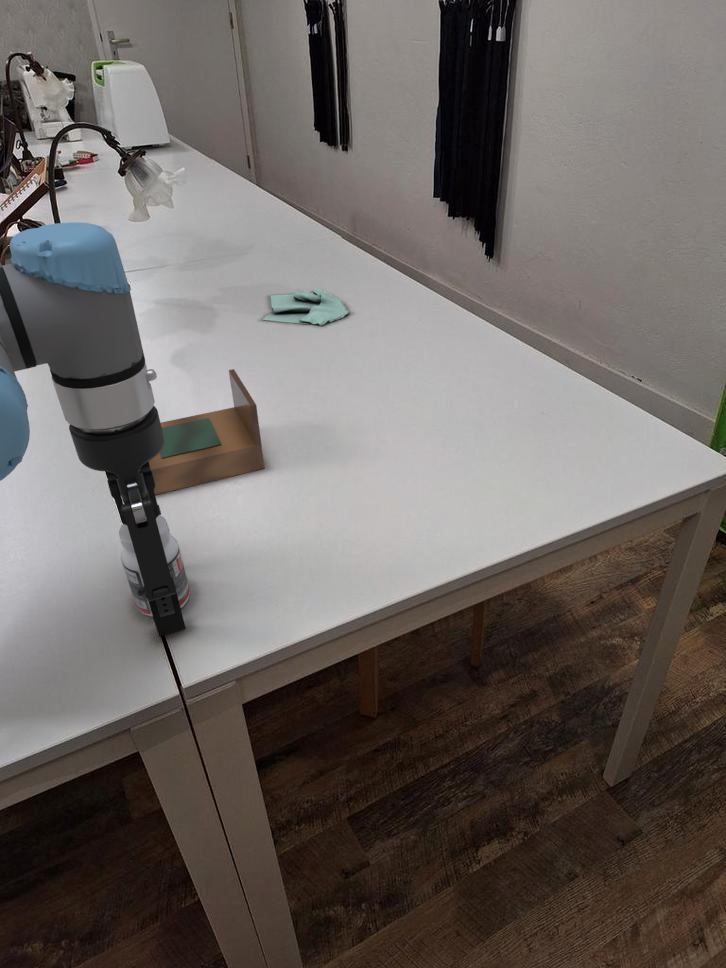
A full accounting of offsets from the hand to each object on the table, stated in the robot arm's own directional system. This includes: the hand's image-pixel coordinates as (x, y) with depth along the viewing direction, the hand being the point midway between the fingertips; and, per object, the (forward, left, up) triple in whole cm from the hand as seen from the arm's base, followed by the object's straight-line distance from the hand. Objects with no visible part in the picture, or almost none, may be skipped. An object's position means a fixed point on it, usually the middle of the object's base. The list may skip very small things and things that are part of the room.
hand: (163, 597), depth 70 cm
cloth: (+43, +78, 0) cm, 89 cm away
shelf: (+9, +26, 0) cm, 27 cm away
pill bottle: (0, 0, 0) cm, 0 cm away
